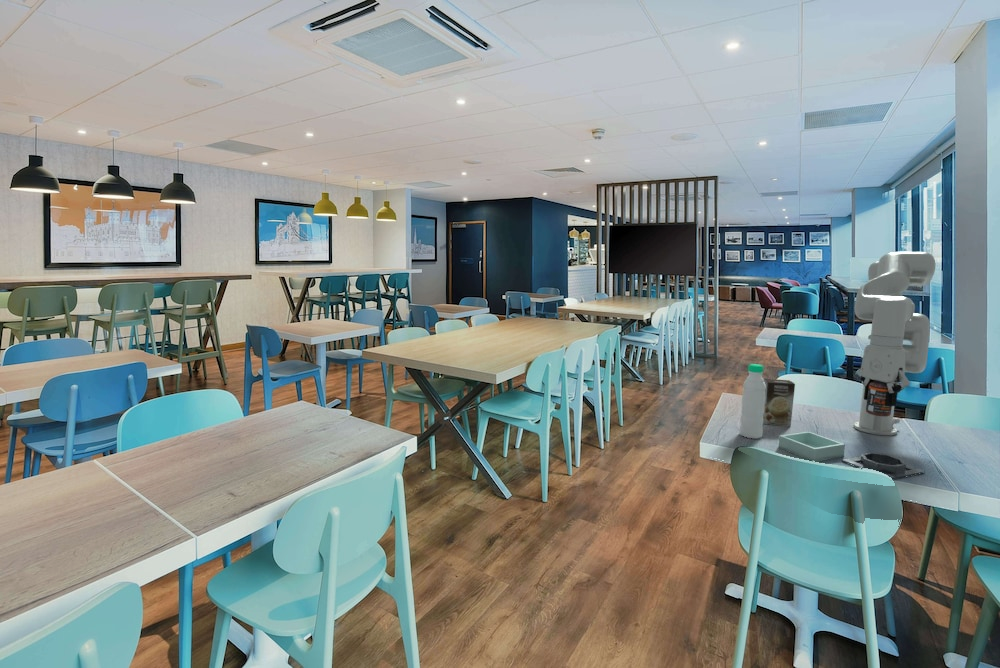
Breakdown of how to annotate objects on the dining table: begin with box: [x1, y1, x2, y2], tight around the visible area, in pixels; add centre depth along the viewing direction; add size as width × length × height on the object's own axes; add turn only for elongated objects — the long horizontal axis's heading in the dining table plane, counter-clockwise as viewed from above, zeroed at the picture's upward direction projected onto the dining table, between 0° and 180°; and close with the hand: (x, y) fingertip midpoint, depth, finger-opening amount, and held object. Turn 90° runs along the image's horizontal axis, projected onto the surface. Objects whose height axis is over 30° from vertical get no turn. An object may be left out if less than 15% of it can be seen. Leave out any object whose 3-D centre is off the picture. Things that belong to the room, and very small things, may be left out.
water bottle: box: [739, 363, 766, 440], centre depth 176 cm, size 7×7×25 cm
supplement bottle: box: [866, 380, 894, 416], centre depth 150 cm, size 6×6×11 cm
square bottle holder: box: [841, 452, 925, 481], centre depth 151 cm, size 14×14×2 cm
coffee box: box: [763, 378, 796, 427], centre depth 191 cm, size 9×6×16 cm
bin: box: [778, 431, 846, 462], centre depth 163 cm, size 13×13×4 cm
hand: (879, 402), depth 150 cm, fingers closed on supplement bottle, 6 cm apart
